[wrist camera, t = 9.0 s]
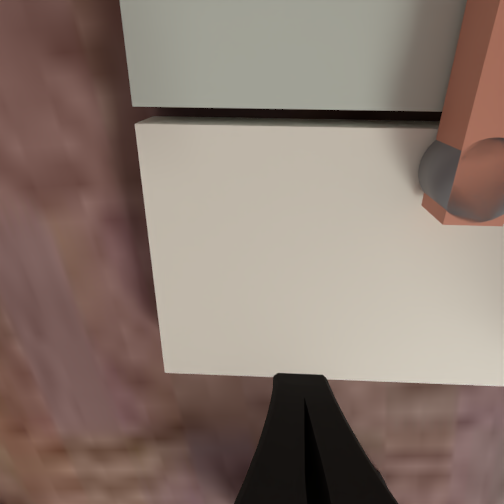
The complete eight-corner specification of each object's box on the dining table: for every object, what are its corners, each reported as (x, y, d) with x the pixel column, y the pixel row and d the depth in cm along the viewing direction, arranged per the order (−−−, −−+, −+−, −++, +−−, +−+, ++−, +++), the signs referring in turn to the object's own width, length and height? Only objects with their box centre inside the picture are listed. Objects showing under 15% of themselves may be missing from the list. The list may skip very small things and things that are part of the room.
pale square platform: (751, -320, 10) (1081, -584, 6) (493, 352, 21) (549, 424, 17) (111, -307, 11) (12, -540, 7) (175, 341, 22) (152, 407, 17)
